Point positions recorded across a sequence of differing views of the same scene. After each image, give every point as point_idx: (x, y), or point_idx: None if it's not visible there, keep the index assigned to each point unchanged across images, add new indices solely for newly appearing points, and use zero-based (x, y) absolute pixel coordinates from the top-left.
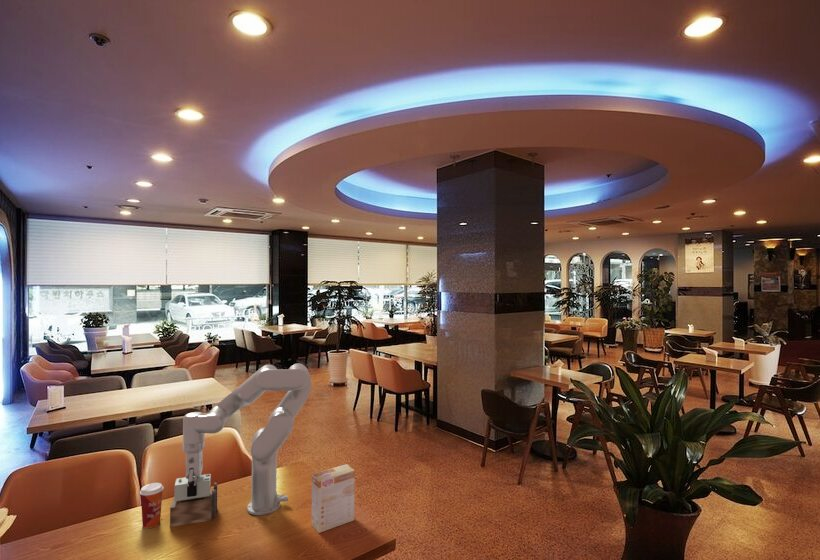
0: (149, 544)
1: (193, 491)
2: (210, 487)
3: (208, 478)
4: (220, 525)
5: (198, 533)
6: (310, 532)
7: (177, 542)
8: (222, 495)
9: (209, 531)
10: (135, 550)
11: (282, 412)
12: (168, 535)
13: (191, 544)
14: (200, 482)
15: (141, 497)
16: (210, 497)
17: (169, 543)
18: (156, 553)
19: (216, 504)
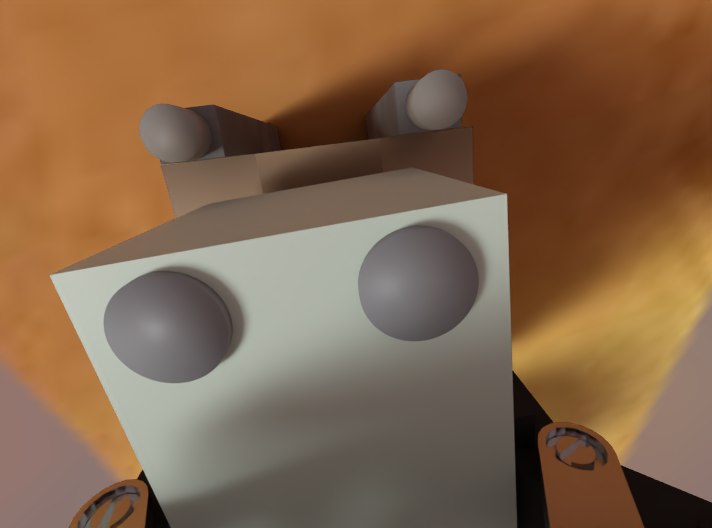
0: (582, 405)
1: (521, 387)
2: (216, 204)
3: (408, 252)
4: (512, 41)
5: (567, 182)
6: None
7: (620, 279)
8: (24, 133)
9: (568, 111)
10: (610, 443)
11: None
12: (527, 347)
13: (678, 193)
14: (508, 383)
15: None
16: (355, 165)
17: (612, 317)
18: (681, 349)
19: (268, 125)
